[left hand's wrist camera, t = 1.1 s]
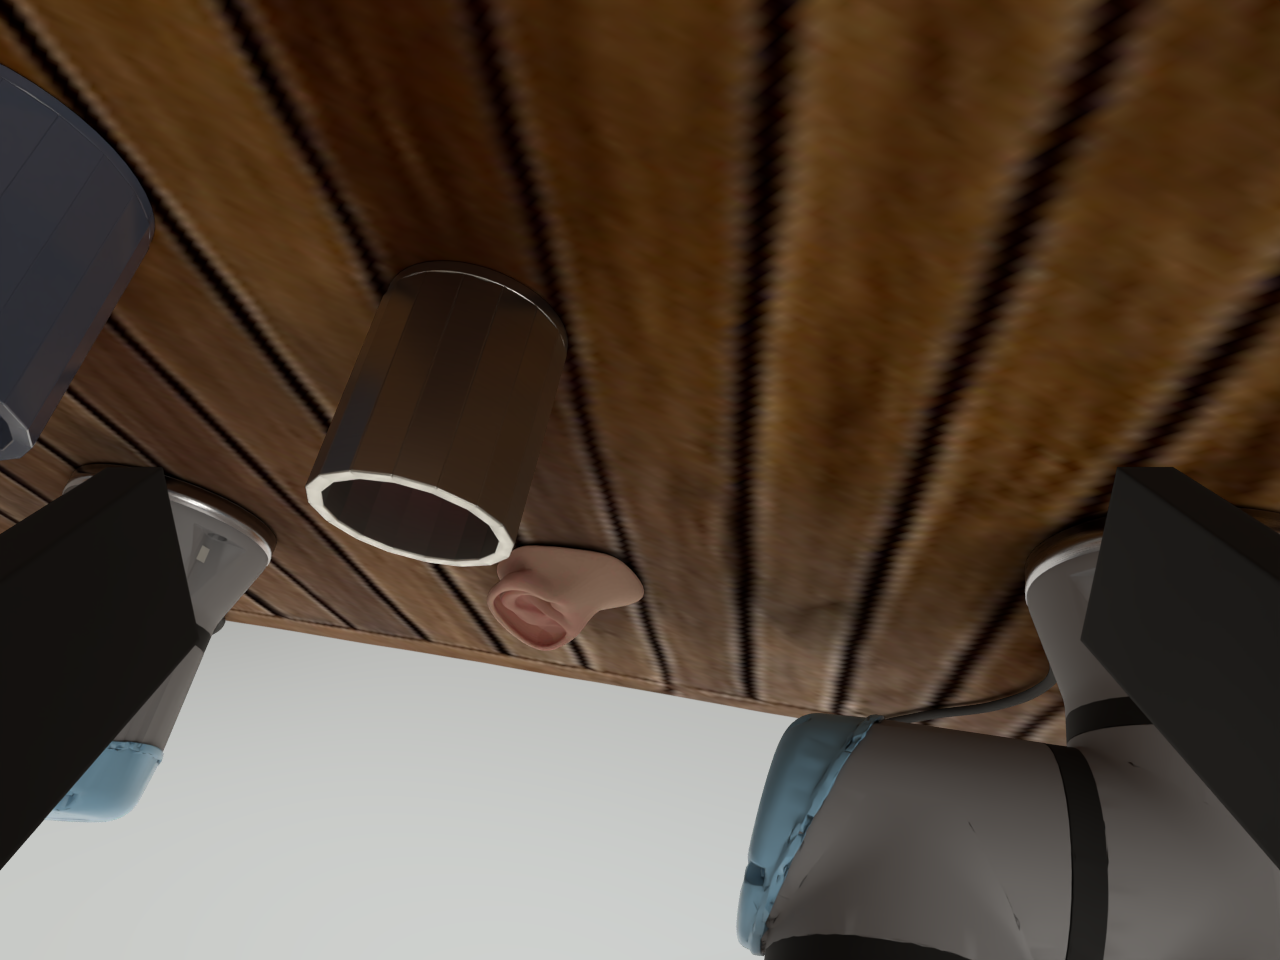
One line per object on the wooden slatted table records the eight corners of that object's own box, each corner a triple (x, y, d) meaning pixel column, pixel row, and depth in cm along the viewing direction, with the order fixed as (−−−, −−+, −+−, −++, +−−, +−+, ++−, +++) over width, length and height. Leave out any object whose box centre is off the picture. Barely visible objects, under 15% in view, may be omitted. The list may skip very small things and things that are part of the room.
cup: (583, 384, 42) (533, 576, 38) (424, 370, 44) (357, 553, 39) (546, 265, 35) (479, 485, 30) (357, 254, 37) (267, 461, 32)
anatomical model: (577, 593, 56) (672, 653, 64) (590, 537, 58) (681, 603, 66) (436, 602, 64) (536, 655, 72) (451, 552, 65) (548, 610, 73)
